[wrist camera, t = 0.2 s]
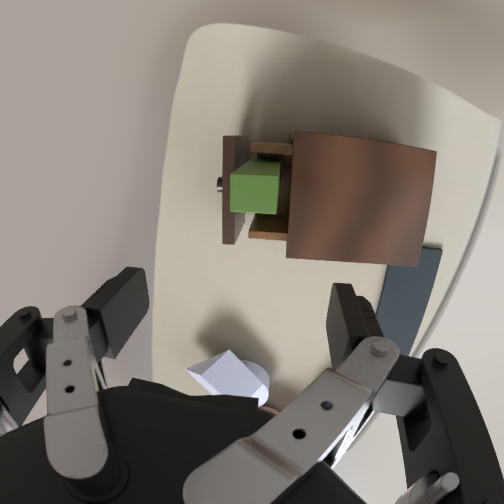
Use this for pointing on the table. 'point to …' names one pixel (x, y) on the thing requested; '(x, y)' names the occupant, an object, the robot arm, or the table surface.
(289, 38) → the table surface
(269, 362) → the table surface
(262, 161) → the long green square beam
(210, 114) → the table surface
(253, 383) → the wedge on round base
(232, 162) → the drawer
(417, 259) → the cabinet
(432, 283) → the mat
